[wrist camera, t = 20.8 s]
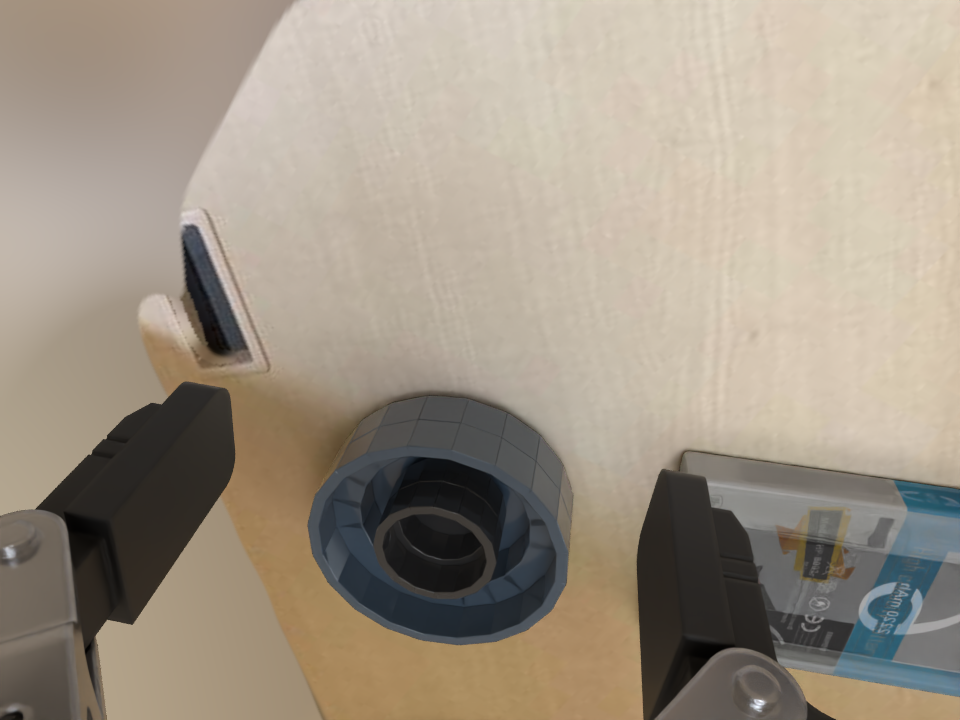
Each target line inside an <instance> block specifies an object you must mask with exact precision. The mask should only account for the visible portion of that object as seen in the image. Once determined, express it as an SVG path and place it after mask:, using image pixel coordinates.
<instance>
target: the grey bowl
mask: <svg viewBox="0 0 960 720" xmlns="http://www.w3.org/2000/svg"><path fill="white" fill-rule="evenodd" d="M429 458H438V459H449V460H452V461H455V462H458V463H460V464H463V465H466V466H469V467H472V468H475V469H477V470H480V471H483V472H485V473H486V474H487V475H489V476H490V478H492V479H493V481H494V482H495V483H496V485H497V486H498V488H499V489H500V490H501V492H502V494H503V496H504V501H505V506H506V517H505V523H504V528H503V533H502V537H501V543H500V548H499V553H498V558H497V564H496V567H495V570H494V573H493V576H492V579H491V580H490V581H489V582H488V583H487V584H486V585H485V586H484V587H482V588H481V589H480V590H479V591H478V592H476V593H474V594H471V595H468V596H465V597H462V598H459V599H435V598H434V599H433V598H430V597H426V596H423V595H419V594H416V593H413V592H410V591H409V590H407V589H406V588H404V587H402V586H401V585H399V584H398V583H396V582H394V581H393V580H392V579H391V578H390V577H389V576H388V575H387V573H386V572H385V571H384V570H383V569H382V567H381V566H380V565H379V563H378V560H377V557H376V554H375V551H374V548H373V543H374V538H375V533H376V529H377V526H378V524H379V521H380V519H381V517H382V514H383V512H384V509H385V507H386V505H387V502H388V500H389V497H390V495H391V492H392V490H393V488H394V485H395V483H396V481H397V479H398V478H399V477H400V476H401V474H402V473H403V472H404V471H405V470H406V469H407V468H408V467H409V466H411V465H413V464H416V463H418V462H420V461H423V460H425V459H429ZM572 508H573V492H572V489H571V486H570V483H569V480H568V477H567V475H566V472H565V469H564V466H563V464H562V462H561V461H560V460H559V458H558V457H557V456H556V454H555V453H554V452H553V451H552V449H551V448H550V447H549V446H548V444H547V443H546V442H545V441H544V439H543V438H542V437H541V436H540V435H539V434H538V433H537V432H535V431H534V430H532V429H531V428H529V427H528V426H527V425H525V424H524V423H522V422H521V421H519V420H518V419H516V418H515V417H514V416H512V415H511V414H509V413H507V412H505V411H502V410H499V409H496V408H494V407H491V406H488V405H485V404H482V403H480V402H477V401H474V400H471V399H468V398H457V397H445V396H432V395H429V396H423V397H418V398H413V399H408V400H404V401H399V402H394V403H392V404H389V405H387V406H385V407H384V408H382V409H380V410H378V411H377V412H375V413H373V414H371V415H370V416H368V417H366V418H364V419H363V420H362V421H361V422H360V423H359V424H358V425H357V427H356V428H355V429H354V430H353V432H352V433H351V434H350V435H349V437H348V438H347V439H346V440H345V442H344V443H343V445H342V446H341V448H340V450H339V452H338V454H337V456H336V457H335V459H334V461H333V463H332V465H331V467H330V468H329V470H328V472H327V474H326V476H325V477H324V479H323V481H322V483H321V485H320V487H319V488H318V490H317V492H316V494H315V496H314V500H313V504H312V508H311V512H310V516H309V520H308V531H309V537H310V543H311V549H312V554H313V557H314V558H315V560H316V562H317V564H318V566H319V567H320V569H321V571H322V573H323V574H324V576H325V578H326V580H327V582H328V583H329V584H330V585H331V586H332V587H333V588H334V589H335V590H336V591H337V592H338V593H339V594H340V595H341V596H342V597H343V598H344V599H345V600H346V601H347V602H348V603H349V604H350V605H351V606H352V607H353V608H354V609H355V610H357V611H359V612H360V613H362V614H363V615H365V616H367V617H368V618H370V619H372V620H373V621H375V622H377V623H378V624H380V625H381V626H383V627H385V628H387V629H390V630H393V631H396V632H399V633H401V634H404V635H407V636H410V637H413V638H416V639H418V640H423V641H430V642H437V643H445V644H453V645H468V644H479V643H489V642H497V641H500V640H502V639H505V638H508V637H510V636H513V635H516V634H519V633H521V632H524V631H526V630H528V629H529V628H530V627H532V626H533V625H534V624H535V623H537V622H538V621H539V620H541V619H542V618H543V617H544V616H546V615H547V614H548V613H549V612H551V610H552V609H553V607H554V606H555V604H556V602H557V600H558V598H559V597H560V595H561V593H562V591H563V589H564V588H565V586H566V583H567V573H568V561H569V548H570V535H571V523H572Z"/></svg>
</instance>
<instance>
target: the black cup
mask: <svg viewBox="0 0 960 720" xmlns="http://www.w3.org/2000/svg"><path fill="white" fill-rule="evenodd" d="M505 517H506V506H505V501H504V496H503V494H502V492H501V490H500V489H499V488H498V486H497V485H496V483H495V482H494V481H493V479H492V478H490V476H489V475H487V474H486V473H485V472H483V471H480V470H477V469H475V468H472V467H469V466H466V465H463V464H460V463H458V462H455V461H452V460H449V459H438V458H429V459H425V460H423V461H420V462H418V463H416V464H413V465H411V466H409V467H408V468H407V469H406V470H405V471H404V472H403V473H402V474H401V476H400V477H399V478H398V479H397V481H396V483H395V485H394V488H393V490H392V492H391V495H390V497H389V500H388V502H387V505H386V507H385V509H384V512H383V514H382V517H381V519H380V521H379V524H378V526H377V529H376V533H375V538H374V543H373V548H374V551H375V554H376V557H377V560H378V563H379V565H380V566H381V567H382V569H383V570H384V571H385V572H386V573H387V575H388V576H389V577H390V578H391V579H392V580H393V581H394V582H396V583H398V584H399V585H401V586H402V587H404V588H406V589H407V590H409V591H410V592H413V593H416V594H419V595H423V596H426V597H430V598H433V599H434V598H435V599H459V598H462V597H465V596H468V595H471V594H474V593H476V592H478V591H479V590H480V589H481V588H482V587H484V586H485V585H486V584H487V583H488V582H489V581H490V580H491V579H492V576H493V573H494V570H495V567H496V564H497V558H498V553H499V548H500V543H501V537H502V533H503V528H504V523H505Z"/></svg>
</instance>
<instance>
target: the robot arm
mask: <svg viewBox="0 0 960 720" xmlns="http://www.w3.org/2000/svg"><path fill="white" fill-rule="evenodd" d="M234 463H235V444H234V432H233V421H232V409H231V399H230V394H229V392H228V390H227V389H225V388H220V387H215V386H209V385H204V384H198V383H193V382H183V383H182V384H181V385H179V386H178V388H177V389H176V390H175V391H174V392H173V393H172V394H171V395H170V396H169V397H168V398H167V399H166V401H165V402H164V403H163V404H162V405H161V404H156V403H150V404H149V405H147V406H145V407H143V408H141V409H139V410H137V411H136V412H134V413H132V414H130V415H128V416H126V417H125V418H124V419H123V420H122V421H121V422H120V423H119V424H118V425H117V426H116V427H115V428H114V429H113V430H112V431H111V432H110V433H109V434H108V435H107V439H106V440H105V439H103V440H102V441H101V442H100V443H99V444H98V445H97V446H96V448H95V449H93V451H92V454H91V455H88V456H87V457H86V458H85V459H84V460H83V461H82V462H81V463H80V464H79V465H78V466H77V467H76V468H75V469H74V470H73V471H72V472H71V473H70V474H69V475H68V476H67V477H66V478H65V479H64V480H63V481H62V482H61V483H60V485H58V486H57V488H55V490H53V492H52V493H51V494H50V495H49V496H48V497H47V498H46V499H45V500H44V501H43V502H42V503H41V504H40V505H39V506H38V507H37V508H36V509H35V510H21V511H16V512H12V513H8V514H5V515H2V516H0V720H107V715H106V708H105V700H104V692H103V684H102V676H101V668H100V660H99V652H98V645H97V641H96V637H95V636H96V634H97V633H98V632H99V630H100V629H101V627H102V626H103V624H104V623H105V622H106V620H112V621H117V622H121V623H126V624H131V625H133V623H134V622H135V620H136V619H137V618H138V616H139V615H140V613H141V612H142V610H143V609H144V607H145V606H146V604H147V603H148V601H149V600H150V598H151V597H152V595H153V594H154V592H155V591H156V589H157V588H158V586H159V585H160V584H161V582H162V580H163V579H164V578H165V576H166V575H167V573H168V572H169V570H170V569H171V567H172V566H173V564H174V563H175V561H176V560H177V558H178V557H179V555H180V554H181V552H182V551H183V550H184V548H185V547H186V545H187V544H188V542H189V541H190V539H191V538H192V536H193V535H194V533H195V532H196V530H197V529H198V527H199V526H200V524H201V523H202V521H203V520H204V518H205V517H206V515H207V514H208V513H209V511H210V509H211V508H212V507H213V505H214V504H215V502H216V501H217V499H218V498H219V496H220V495H221V493H222V492H223V490H224V489H225V488H226V486H227V484H228V482H229V480H230V478H231V475H232V472H233V468H234ZM753 561H754V556H753V552H752V548H751V543H750V539H749V534H748V533H747V532H746V530H745V529H744V527H743V526H742V525H741V523H740V522H739V520H738V519H737V518H736V516H735V515H734V513H733V512H732V511H730V510H725V509H719V508H714V507H711V502H710V496H709V490H708V485H707V480H706V478H705V477H704V476H700V475H694V474H688V473H683V472H677V471H672V470H666V469H662V470H661V472H660V474H659V476H658V479H657V482H656V485H655V489H654V492H653V495H652V498H651V501H650V505H649V508H648V511H647V514H646V517H645V521H644V524H643V527H642V530H641V534H640V539H639V545H638V553H637V580H638V603H639V625H640V648H641V671H642V694H643V716H644V720H836V719H833V718H831V717H830V716H828V715H826V714H824V713H822V712H821V711H819V710H818V709H816V708H815V707H813V706H812V705H811V704H809V703H808V702H807V701H806V699H805V696H804V694H803V691H802V690H801V688H800V686H799V684H798V683H797V681H796V680H795V679H794V678H793V676H792V675H791V674H790V673H789V672H788V671H787V670H786V669H785V668H784V667H783V666H781V665H780V664H779V663H778V660H777V657H776V653H775V648H774V644H773V640H772V635H771V631H770V626H769V622H768V618H767V613H766V609H765V605H764V600H763V596H762V591H761V587H760V584H758V579H759V578H758V574H757V570H756V565H755V563H753Z"/></svg>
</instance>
